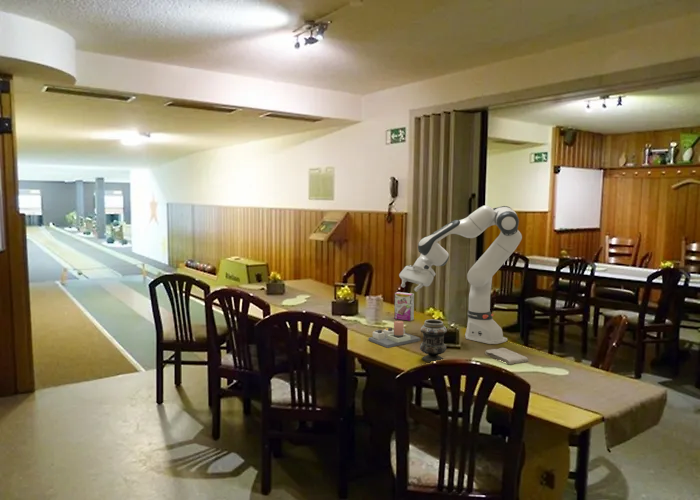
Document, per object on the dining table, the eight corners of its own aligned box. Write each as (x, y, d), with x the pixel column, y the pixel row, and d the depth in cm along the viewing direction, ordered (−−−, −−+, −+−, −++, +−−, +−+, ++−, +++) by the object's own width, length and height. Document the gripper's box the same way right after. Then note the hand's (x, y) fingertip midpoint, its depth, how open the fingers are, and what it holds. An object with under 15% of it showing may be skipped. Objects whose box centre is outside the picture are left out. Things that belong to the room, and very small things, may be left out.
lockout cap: (405, 339, 259) (405, 322, 258) (398, 340, 256) (398, 323, 255) (399, 337, 263) (399, 320, 262) (391, 338, 260) (391, 321, 259)
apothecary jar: (451, 361, 229) (452, 322, 227) (429, 365, 224) (430, 325, 222) (436, 354, 240) (436, 317, 238) (414, 357, 235) (415, 319, 233)
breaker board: (420, 340, 262) (420, 329, 261) (387, 347, 250) (387, 336, 249) (400, 333, 275) (400, 323, 275) (368, 340, 263) (368, 329, 262)
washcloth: (502, 351, 244) (502, 345, 244) (529, 362, 228) (529, 356, 228) (482, 355, 239) (483, 348, 239) (508, 366, 223) (509, 359, 223)
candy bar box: (394, 319, 309) (394, 293, 307) (397, 317, 313) (397, 291, 311) (410, 321, 303) (410, 294, 301) (414, 319, 307) (414, 293, 305)
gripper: (404, 261, 278) (391, 281, 274) (433, 268, 263) (420, 289, 259) (409, 267, 282) (397, 287, 278) (438, 274, 267) (425, 296, 263)
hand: (408, 288), depth 269 cm, fingers open, 8 cm apart
